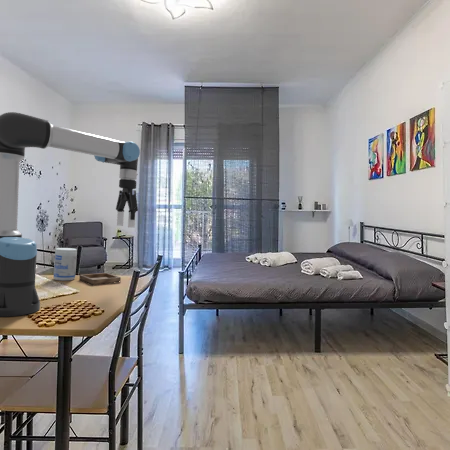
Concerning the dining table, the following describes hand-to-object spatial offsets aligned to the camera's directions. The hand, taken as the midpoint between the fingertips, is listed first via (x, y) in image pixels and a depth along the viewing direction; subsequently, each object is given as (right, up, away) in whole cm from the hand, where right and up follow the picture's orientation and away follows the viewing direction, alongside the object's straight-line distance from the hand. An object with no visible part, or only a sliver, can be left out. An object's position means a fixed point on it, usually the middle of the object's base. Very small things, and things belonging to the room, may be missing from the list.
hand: (125, 226), depth 159 cm
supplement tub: (-32, -26, +10) cm, 42 cm away
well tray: (-15, -26, +10) cm, 32 cm away
